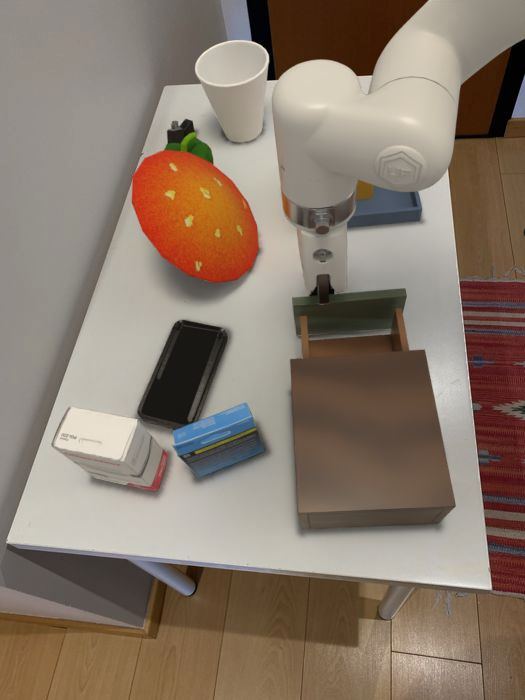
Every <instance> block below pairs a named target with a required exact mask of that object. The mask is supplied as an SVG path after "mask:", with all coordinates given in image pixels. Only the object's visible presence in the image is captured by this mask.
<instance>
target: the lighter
mask: <svg viewBox="0 0 525 700" xmlns="http://www.w3.org/2000/svg"><path fill="white" fill-rule="evenodd" d="M192 132H195V133H196V130H195V125H194V121H193V120H191V119H189V118H184V120H183V121H182V122H181V123H180V125H179V120H172V121H171V124H170V128H167V130H166V139H167V141H166V142H167V143H166V145H167V144H169V143H179V144H180V143H181V142H182V141H183V139H184V138H185V137H186V136H187V135H188V134H190V133H192Z"/></svg>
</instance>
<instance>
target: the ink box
mask: <svg viewBox="0 0 525 700" xmlns="http://www.w3.org/2000/svg"><path fill="white" fill-rule="evenodd" d="M50 445H51V448H53V449H54V450H55V451H57V452H58V453H59V454H61V455H62V456H64V457H65V458H67V459H68V460H70V461H71V462H72V463H74V464H75V465H77V467H79V468H81V469H82V470H83V471H85V472H86V473H87V474H89V475H90V476H92V477H93V478H94V479H96V480H100V481H104V482H105V481H106V482H110V483H114V484H119V485H124V486H128V487H133V488H136V489H137V488H138V489H142V490H146V491H150V492H151V491H152V492H158V491H159V488H160V485H161V482H162V479H163V476H164V473H165V470H166V466H167V463H168V459H169V455H168V453H167V452H166V451H165V450H164V449H163V447H162V446H161V445H160V444H159V442H157V439H155V438H154V437H153V436H152V434H151V433H150V432H149V431H148V430H147V428H146V427H145V426H144V425H143V424H142V422H141V421H140V420H139V419H138V418H133V417H127V416H123V415H118V414H117V415H116V414H111V413H107V412H101V411H96V410H91V409H86V408H80V407H74V406H68V407H67V409H66V410H65V412H64V414H63V416H62V417H61V420H60V421H59V423H58V425H57V427H56V430H55V433H54V436H53V437H52V440H51V443H50Z"/></svg>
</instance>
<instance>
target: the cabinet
mask: <svg viewBox="0 0 525 700" xmlns="http://www.w3.org/2000/svg"><path fill="white" fill-rule="evenodd" d="M289 366H290V367H289V368H290V369H289V370H290V384H291V385H290V387H291V388H290V389H291V406H292V407H291V408H292V425H293V444H294V445H293V446H294V466H295V482H296V503H297V504H296V505H297V516H298V518H299V522H300V525H301V529H302V531H303V530H305V531H306V530H326V529H327V530H328V529H350V528H351V529H353V528H376V527H379V528H380V527H397V526H398V527H399V526H400V527H404V526H424V525H425V526H426V525H427V526H428V525H439V523H441V522H442V521H443V520H444V519H445V518H446V517H447V516H448V515H449V513H451V512H452V511H453V510H454V509H455V508H456V507H457V505H456V498H455V494H454V488H453V484H452V479H451V474H450V469H449V464H448V458H447V454H446V448H445V444H444V439H443V434H442V429H441V424H440V419H439V418H440V417H439V413H438V408H437V402H436V399H435V398H436V397H435V393H434V388H433V382H432V378H431V373H430V368H429V363H428V357H427V353H426V349H424V348H423V349H411V350H410V349H409V351H395V352H381V353H367V354H354V355H340V356H326V357H312V358H303V357H300V358H299V357H298V358H290V359H289Z"/></svg>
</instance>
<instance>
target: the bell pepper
mask: <svg viewBox="0 0 525 700" xmlns="http://www.w3.org/2000/svg"><path fill="white" fill-rule="evenodd" d="M163 150H170V151H181V152H189V153H191V154H193V155H195V156H197V157H199V158H202V159H204V160H206V161H208V162H210V163H212V164H213V165H214V155H213V151H212V148H211V147H210V146H209V145H208V143H206V142H204V141H203V140H200V139H199V138H198V137H197V132H196V131H195V132H192V133H190V134H188V135H187V136H186V137H185V138H184V139H183V141H182V142H181V143H180V144H179V143H169V144H167V143H166V144H165V147H164V149H163ZM214 166H215V165H214Z"/></svg>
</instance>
